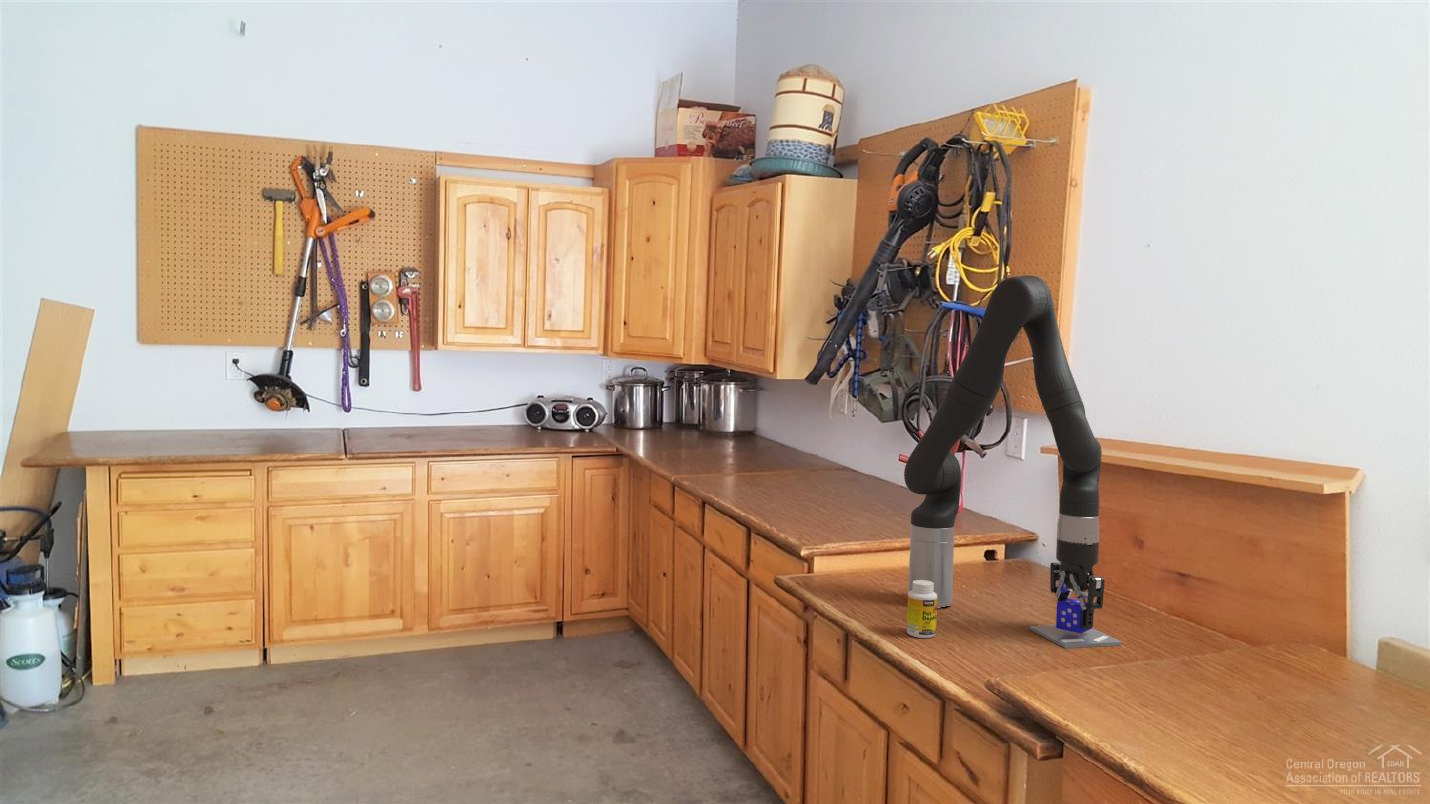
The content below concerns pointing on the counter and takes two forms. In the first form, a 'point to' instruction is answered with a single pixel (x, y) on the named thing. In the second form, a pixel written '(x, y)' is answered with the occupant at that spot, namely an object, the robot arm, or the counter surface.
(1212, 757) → the counter surface
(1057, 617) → the die
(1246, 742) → the counter surface
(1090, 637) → the tile
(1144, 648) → the counter surface
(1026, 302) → the robot arm
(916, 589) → the supplement bottle
